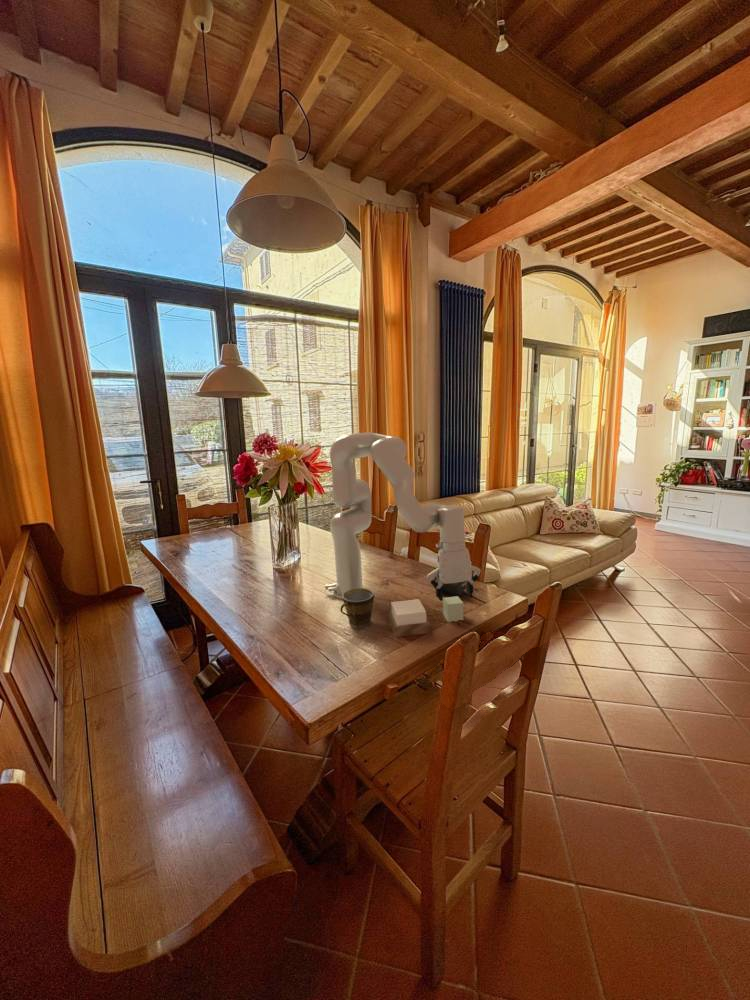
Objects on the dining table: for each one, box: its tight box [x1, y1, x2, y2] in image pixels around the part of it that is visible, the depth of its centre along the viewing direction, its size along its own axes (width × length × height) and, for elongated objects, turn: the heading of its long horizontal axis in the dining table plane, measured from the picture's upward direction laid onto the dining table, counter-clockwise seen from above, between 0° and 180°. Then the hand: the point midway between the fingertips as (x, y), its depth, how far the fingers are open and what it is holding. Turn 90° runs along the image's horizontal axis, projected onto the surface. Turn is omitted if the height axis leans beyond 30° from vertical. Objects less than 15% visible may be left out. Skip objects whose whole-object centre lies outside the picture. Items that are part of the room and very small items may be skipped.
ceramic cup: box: [340, 588, 375, 630], centre depth 127 cm, size 13×10×10 cm
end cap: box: [433, 575, 467, 598], centre depth 148 cm, size 10×7×7 cm
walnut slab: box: [387, 610, 432, 638], centre depth 126 cm, size 11×11×4 cm
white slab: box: [390, 598, 427, 626], centre depth 125 cm, size 9×9×4 cm
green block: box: [442, 595, 464, 623], centre depth 130 cm, size 5×5×6 cm
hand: (454, 597), depth 128 cm, fingers open, 9 cm apart
